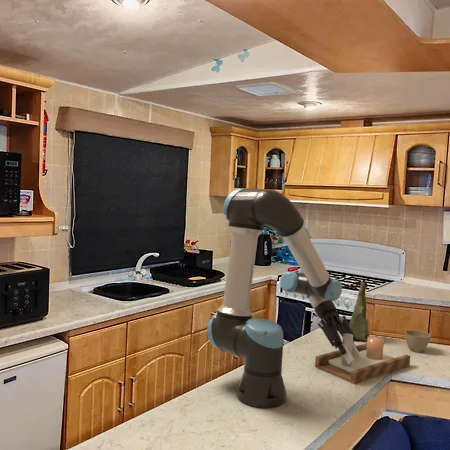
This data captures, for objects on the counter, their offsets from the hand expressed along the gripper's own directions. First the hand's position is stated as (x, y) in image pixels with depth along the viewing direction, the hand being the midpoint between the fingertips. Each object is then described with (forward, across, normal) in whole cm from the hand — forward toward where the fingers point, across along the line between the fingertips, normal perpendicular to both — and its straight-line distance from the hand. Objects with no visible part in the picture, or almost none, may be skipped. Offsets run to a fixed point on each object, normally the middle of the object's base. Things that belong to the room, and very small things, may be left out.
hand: (355, 360), depth 168 cm
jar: (-1, -16, -4) cm, 17 cm away
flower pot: (+1, -44, -7) cm, 45 cm away
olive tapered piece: (-15, -35, -22) cm, 44 cm away
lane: (+1, -10, -6) cm, 12 cm away
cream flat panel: (0, -10, -5) cm, 11 cm away
